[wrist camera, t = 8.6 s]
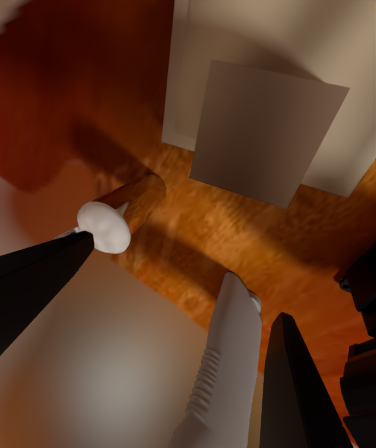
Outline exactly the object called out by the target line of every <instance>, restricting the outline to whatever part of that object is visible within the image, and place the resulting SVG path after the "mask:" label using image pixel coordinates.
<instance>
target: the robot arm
mask: <svg viewBox="0 0 376 448" xmlns="http://www.w3.org/2000/svg"><path fill="white" fill-rule="evenodd" d="M94 246H95V244H94V236H93V234H92V233H91V232H88V231H81V232H77V233H74V234H71V235H68V236H64V237H61V238H58V239H54V240H51V241H48V242H45V243H41V244H39V245H35V246H32V247H28V248H25V249H22V250H18V251H15V252H12V253H9V254H5V255H2V256H0V356H1V355H2V353H3V352H4V351H5V350H6V349H7V348H8V347H9V346H10V345H11V344H12V342H13V341H14V340H15V339H16V338H17V337H18V336H19V335H20V334H21V333H22V332H23V331H24V329H25V328H26V327H27V326H28V325H29V324H30V323H31V322H32V321H33V320H34V318H36V316H37V315H38V314H39V313H40V312H41V311H42V310H43V309H44V308H45V307H46V305H47V304H48V303H49V302H50V301H51V300H52V299H53V298H54V297H55V296H56V294H58V292H59V291H60V290H61V289H62V288H63V287H64V286H65V285H66V284H67V283H68V282H69V280H70V279H71V278H72V277H73V276H74V275H75V274H76V272H77V271H78V270H79V268H80V267H81V266H82V264H83V263H84V262H85V260H86V259H87V258H88V256H89V255H90V254H91V252H92V251H93V249H94ZM345 285H346V286H345ZM339 286H340V288H341V289H342V290H344V291H347V292H350V293H351V294H352V297H353V301H354V304H355V307H356V310H357V311H358V312H361V313H362V316H363V320H364V323H365V326H366V329H367V332H368V335H369V336H371V337H374V339H371V340H368V341H366V342H363V343H360V344H354V345H351V346H350V347H349V353H348V361H347V362H346V363H345V368H344V374H343V375H344V377H341V378H340V387H341V393H342V397H343V400H344V403H345V406H346V409H347V411H348V414H349V416H345V417H343V421H344V423H345V425H346V426H347V428H348V430H349V431H350V433H351V434H352V436H353V438H354V439H355V441H356V443H357V445H358V447H359V448H376V243H375V244H374V245H373V246H372V247H371V248H370V250H369V251H368V252H367V253H366V254H364V255H362V256H361V257H360V258H359V259H358V261H357V262H356V263H355V264H354V265H353V266H352V267H351V268H350V269H349V270H348V271H347V272H346V275H345V276H344V277H343V279H342V280H341V281H340V282H339ZM259 448H353V446H352V444H351V441H350V439H349V437H348V435H347V433H346V431H345V428H344V427H343V426H342V422H341V420H340V418H339V416H338V413H337V411H336V409H335V407H334V405H333V403H332V401H331V398H330V396H329V394H328V392H327V390H326V388H325V385H324V383H323V381H322V379H321V377H320V375H319V372H318V370H317V368H316V366H315V364H314V362H313V359H312V357H311V355H310V353H309V351H308V349H307V346H306V344H305V342H304V340H303V338H302V336H301V333H300V331H299V329H298V327H297V325H296V323H295V320H294V318H293V317H292V316H291V315H289V314H287V313H284V312H281V313H280V314H279V315H278V317H277V318H276V319H275V321H274V322H273V324H272V327H271V333H270V338H269V344H268V349H267V354H266V360H265V369H264V383H263V399H262V415H261V430H260V447H259Z"/></svg>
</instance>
